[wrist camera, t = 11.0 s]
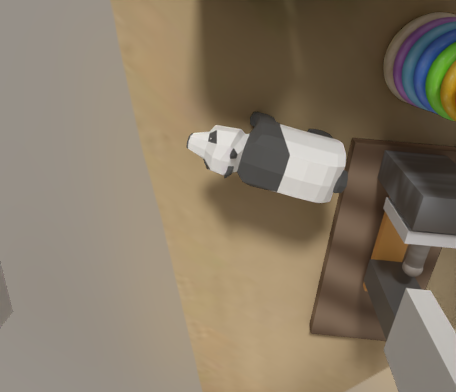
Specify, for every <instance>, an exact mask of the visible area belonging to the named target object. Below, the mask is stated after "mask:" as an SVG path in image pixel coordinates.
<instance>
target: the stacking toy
mask: <svg viewBox="0 0 456 392" xmlns="http://www.w3.org/2000/svg"><path fill="white" fill-rule="evenodd" d="M383 72H384V78H385V81H386V84H387V86H388V88H389V89H390V91H391V92H392V93H393V94H394V95H395V96H396V97H397V98H399V99H400V100H402V101H403V102H406V103H409V104H411V105H413V106H416V107H419V108H422V109H424V110H427V111H431V112H433V113H436V114H439V115H440V116H442V117H443V118H446V119H448V120H452V121H456V15H455V14H452V13H446V12H436V13H430V14H426V15H423V16H420V17H418V18H416V19H414V20H413V21H411V22H409V23H408V24H407V25H405V26H404V27H403V28H402V29H401V30H400V31H399V32H398V33H397V34H396V35H395V36H394V38H393V39H392V41H391V43H390V44H389V46H388V48H387V51H386V54H385V57H384V63H383Z"/></svg>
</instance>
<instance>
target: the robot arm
mask: <svg viewBox="0 0 456 392" xmlns="http://www.w3.org/2000/svg"><path fill="white" fill-rule="evenodd" d="M12 312H13V310H12V306H11V302H10V298H9V294H8V290H7V286H6V282H5V278H4V274H3V270H2V267H1V263H0V328H1V326H2V325H3V323H5V321H6V320H7V318H8V317H9V316H10V315H11V313H12ZM384 352H385V355H386V358H387V361H388V363H389V366H390V369H391V372H392V374H393V377H394V380H395V383H396V386H397V388H398V391H399V392H456V333H455V331H454V329H453V327H452V326H451V324H450V322H449V321H448V319H447V317H446V316H445V314H444V312H443V311H442V309H441V307H440V306H439V304H438V302H437V300H436V299H435V297H434V295H433V294H432V292H431V290H420V289H410V288H406V289H405V292H404V295H403V298H402V300H401V303H400V306H399V309H398V311H397V314H396V317H395V320H394V322H393V325H392V328H391V331H390V333H389V336H388V339H387V342H386V344H385V347H384Z"/></svg>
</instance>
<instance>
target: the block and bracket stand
mask: <svg viewBox="0 0 456 392" xmlns="http://www.w3.org/2000/svg"><path fill="white" fill-rule="evenodd" d="M383 209H384V210H385V212H384V215H383V219H382V222H381V225H380V229H379V232H378V236H377V239H376V242H375V246H374V249H373V253H372V256H371V259H370V260H369V264H368V267H367V270H366V274H365V277H364V283H363V287H364V290H365V291H368V294H369V296H370V299H371V302H372V304H373V307H374V310H375V312H376V315H377V318H378V320H379V323H380V325H381V328H382V331H383V333H384V336H385V339H386V341H387V339H388V336H389V333H390V331H391V328H392V325H393V322H394V320H395V317H396V314H397V311H398V309H399V306H400V303H401V300H402V298H403V295H404V292H405V289H406V288H410V289H420V290H422V289H421V287H420V285H419V284H418V282H417V280H416V278H415V277H412V276H408V275H407V274H406V273H405V272H404V271H403V268H402V264H403V262H402V261H403V258H404V255H405V252H406V249H407V246H408V244H415V245H425V246H436V247H446V248H456V234H449V233H438V232H428V231H417V230H412V229H411V227H410V226H409V224H408V223H407V221H406V220H405V218H404V217H403V215H402V214H401V212H400V211H399V209H398V208H397V206H396V205H395V203H394V202H393V200H392V199H391V198H390V196H389V197H386V200H385V204H384V207H383Z"/></svg>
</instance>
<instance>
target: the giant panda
mask: <svg viewBox="0 0 456 392" xmlns="http://www.w3.org/2000/svg"><path fill="white" fill-rule="evenodd" d="M250 124H251V125H252V126H254V129H253V130H252V131H251V133H250V134H245V133H244V132H243V130H242V129H238V128H232V127H226V126H219V125H215V126H214V127H213V128H212V130H211V131H210V132H199V133H192V134H191V135H190V136H189V138H188V141H187V148H188V149H190V150H191V151H193V152H194V153H196V154H197V155H199V156H200V157H201V158H203V160H204V163H205V165H206V168H207V169H208V170H211V171H213V172H216V173H219V174H221V175H224V178H226V177H228V176H230V175H231V174H232V172H237V173H238V174H239V176H240V178H241V180H242V182H244V183H246V184H248V185H250V186H253V187H257V188H261V189H266V190H270V191H273V192H277V193H281V194H284V195H288V196H291V197H295V198H299V199H303V200H307V201H311V202H315V203H326V202H330V200H331V197H332V194H333V192H334V193H342V192H343V191H344V189H345V188H346V186H347V181H348V172H347V171H345V170H344V168H345V163H346V152H345V149H344V145H343V143H342V142H340V141H339V140H337V139H334V138H333V137H332V136H331V135H330V134H328V133H326V132H324V131H321V130H316V129H309V130H308V131H307V132H306V131H302V130H299V129H295V128H292V127H289V126H285V125H282V124H280V123H278V122H276V120H275V119H274V118H273V117H271V116H269V115H267V114H264V113H260V112H253V114H252V115H251V117H250Z"/></svg>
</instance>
